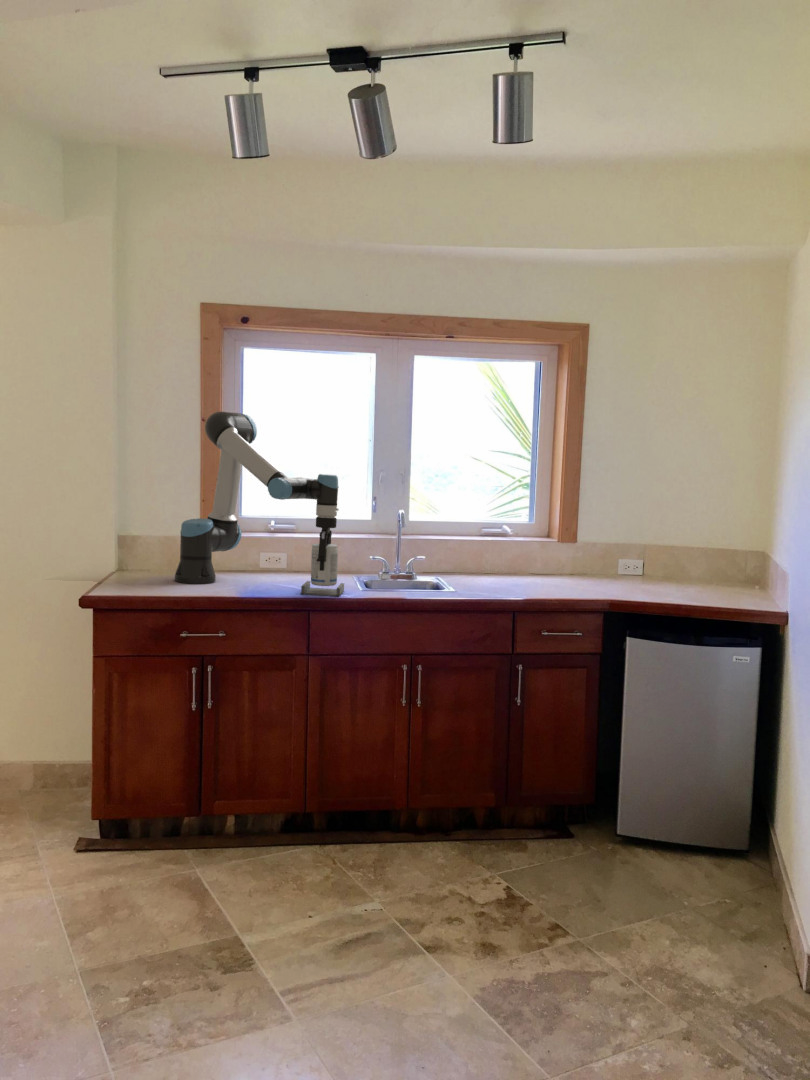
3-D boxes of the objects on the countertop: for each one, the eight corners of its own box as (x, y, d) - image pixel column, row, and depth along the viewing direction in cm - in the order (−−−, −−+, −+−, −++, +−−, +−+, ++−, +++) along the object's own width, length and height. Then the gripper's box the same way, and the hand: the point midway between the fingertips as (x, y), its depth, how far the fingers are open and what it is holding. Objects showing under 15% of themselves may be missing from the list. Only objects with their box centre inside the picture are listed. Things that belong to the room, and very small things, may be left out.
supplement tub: (331, 582, 337) (332, 543, 335) (340, 586, 328) (342, 546, 327) (306, 582, 332) (308, 543, 331) (315, 586, 324) (317, 546, 322)
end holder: (301, 594, 324) (301, 585, 324) (306, 588, 337) (307, 581, 337) (339, 596, 324) (340, 588, 323) (343, 591, 337) (344, 583, 336)
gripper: (332, 519, 317) (329, 582, 319) (340, 515, 339) (337, 574, 341) (311, 518, 317) (308, 580, 319) (320, 514, 339) (317, 573, 341)
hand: (323, 577), depth 330 cm, fingers closed on supplement tub, 9 cm apart
